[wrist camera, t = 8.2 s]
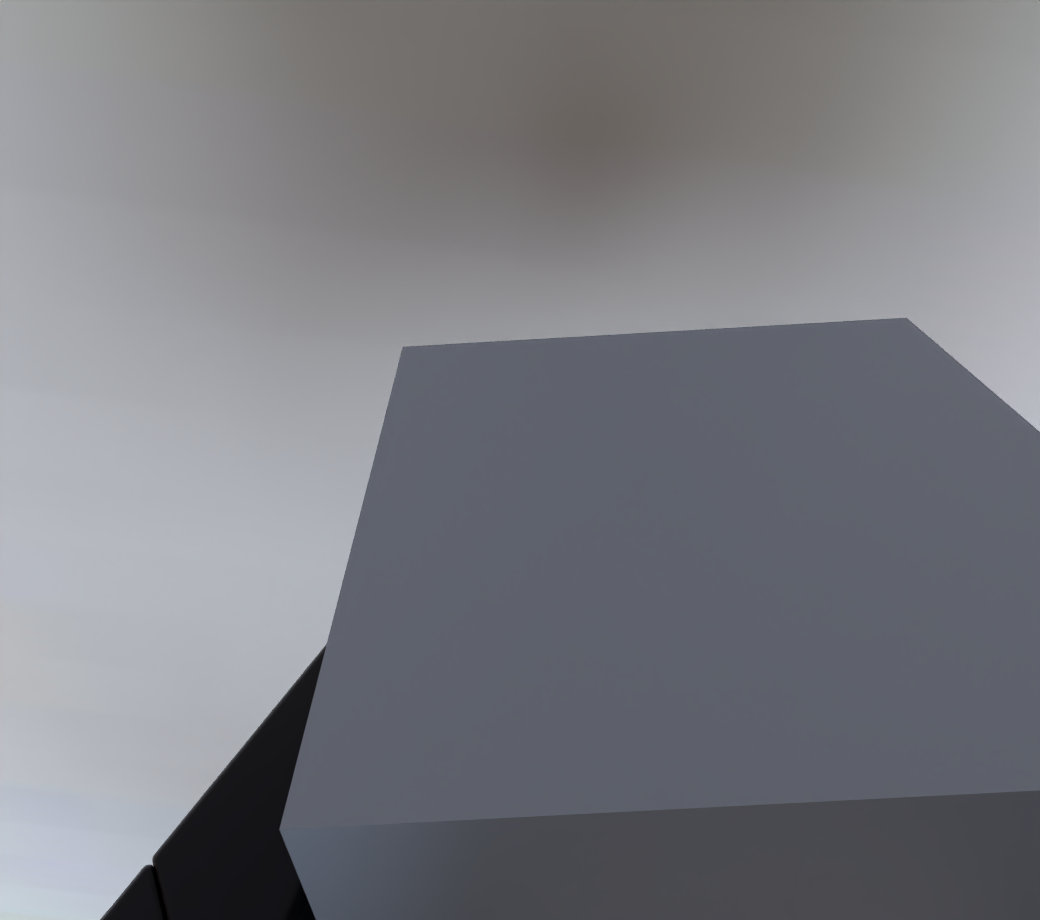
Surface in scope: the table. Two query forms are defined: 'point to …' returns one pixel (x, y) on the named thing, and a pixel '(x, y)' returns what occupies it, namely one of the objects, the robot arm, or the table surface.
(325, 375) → the table surface
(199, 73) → the table surface
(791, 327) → the slate blue block
